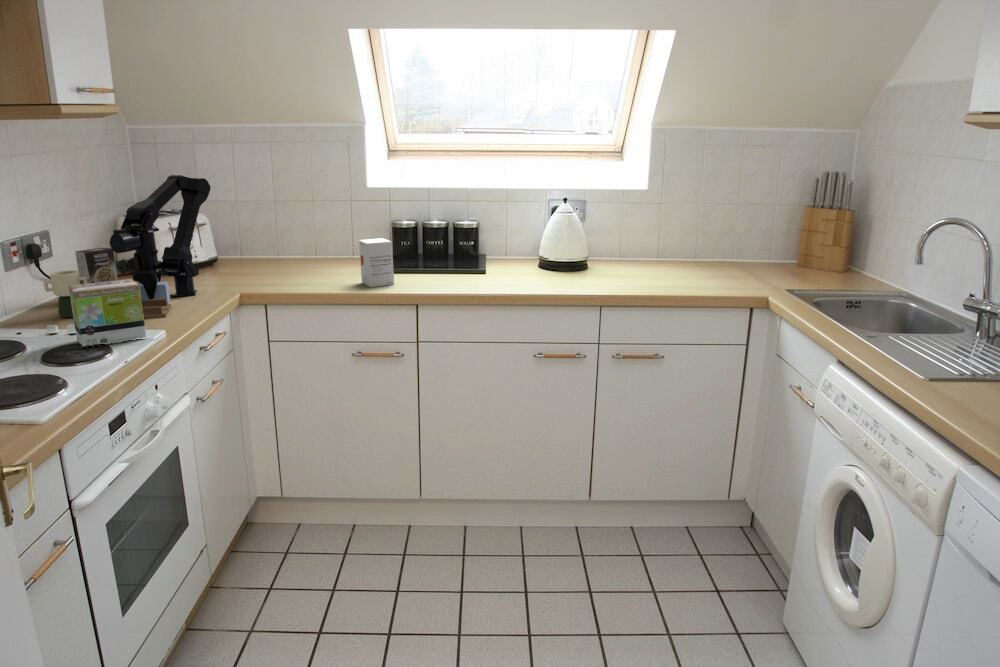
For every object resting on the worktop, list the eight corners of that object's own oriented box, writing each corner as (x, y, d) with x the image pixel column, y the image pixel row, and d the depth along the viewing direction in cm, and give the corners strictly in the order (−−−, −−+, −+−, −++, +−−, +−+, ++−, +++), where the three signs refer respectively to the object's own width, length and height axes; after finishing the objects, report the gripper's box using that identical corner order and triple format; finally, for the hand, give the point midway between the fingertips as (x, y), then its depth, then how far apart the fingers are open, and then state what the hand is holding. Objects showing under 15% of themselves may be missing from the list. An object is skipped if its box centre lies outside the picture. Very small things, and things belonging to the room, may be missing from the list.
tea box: (82, 349, 184) (72, 291, 180) (76, 340, 192) (66, 284, 188) (147, 339, 192) (139, 283, 188) (139, 330, 200) (131, 277, 196)
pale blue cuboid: (139, 302, 231) (136, 283, 230) (170, 299, 234) (167, 281, 232) (136, 305, 227) (133, 286, 225) (167, 303, 229) (165, 284, 227)
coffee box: (94, 303, 232) (86, 252, 227) (82, 301, 235) (73, 250, 230) (121, 297, 239) (113, 248, 235) (109, 295, 242) (101, 246, 238)
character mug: (92, 311, 222) (85, 268, 218) (92, 316, 216) (85, 272, 212) (50, 316, 217) (42, 272, 213) (49, 321, 211) (41, 276, 207)
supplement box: (361, 282, 257) (358, 239, 252) (385, 280, 261) (383, 237, 257) (369, 287, 249) (366, 243, 245) (394, 284, 253) (392, 240, 249)
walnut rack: (121, 311, 222) (119, 301, 221) (171, 307, 225) (170, 297, 224) (112, 321, 211) (110, 310, 210) (165, 317, 214) (164, 306, 213)
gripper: (122, 244, 232) (130, 293, 236) (109, 254, 215) (118, 306, 219) (161, 242, 235) (168, 290, 239) (151, 252, 218) (159, 304, 222)
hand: (152, 297), depth 230 cm, fingers closed on pale blue cuboid, 5 cm apart
